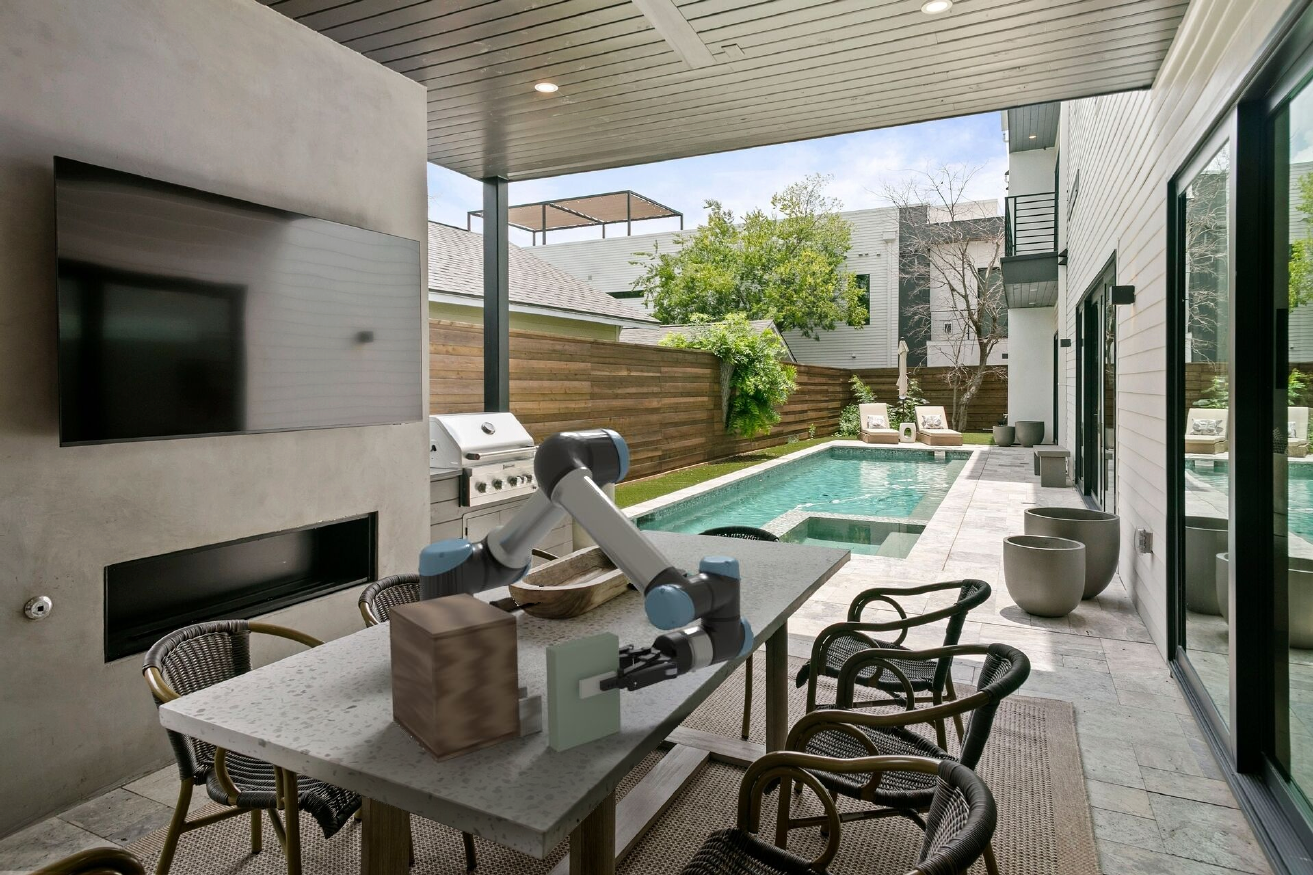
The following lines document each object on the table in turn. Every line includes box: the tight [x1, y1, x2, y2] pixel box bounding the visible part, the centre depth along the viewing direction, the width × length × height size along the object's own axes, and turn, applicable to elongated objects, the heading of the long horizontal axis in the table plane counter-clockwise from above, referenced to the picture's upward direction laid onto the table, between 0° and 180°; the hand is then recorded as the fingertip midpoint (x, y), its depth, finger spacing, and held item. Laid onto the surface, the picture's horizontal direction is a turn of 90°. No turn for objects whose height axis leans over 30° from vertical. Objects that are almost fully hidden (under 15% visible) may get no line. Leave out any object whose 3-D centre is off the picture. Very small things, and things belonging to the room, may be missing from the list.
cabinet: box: [388, 593, 543, 763], centre depth 130 cm, size 18×20×20 cm
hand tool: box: [488, 584, 546, 612], centre depth 204 cm, size 19×4×5 cm, turn 139°
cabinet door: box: [545, 631, 622, 753], centre depth 124 cm, size 12×3×16 cm, turn 128°
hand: (570, 683), depth 123 cm, fingers open, 6 cm apart
